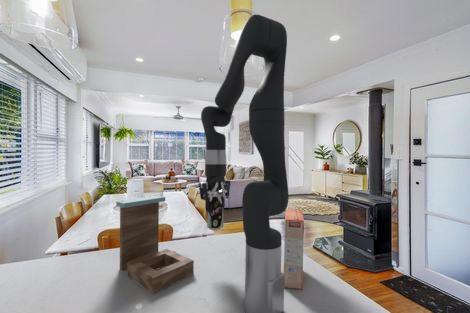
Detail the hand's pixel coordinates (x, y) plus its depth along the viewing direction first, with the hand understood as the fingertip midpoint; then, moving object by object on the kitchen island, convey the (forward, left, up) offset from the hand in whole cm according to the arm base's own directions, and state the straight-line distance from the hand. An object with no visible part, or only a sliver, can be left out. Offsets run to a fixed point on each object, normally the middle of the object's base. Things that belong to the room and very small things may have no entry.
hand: (215, 210), depth 86 cm
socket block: (+9, +16, -20) cm, 27 cm away
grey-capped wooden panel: (+22, +16, -20) cm, 34 cm away
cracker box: (-25, -11, -20) cm, 34 cm away
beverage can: (0, 0, -7) cm, 7 cm away
